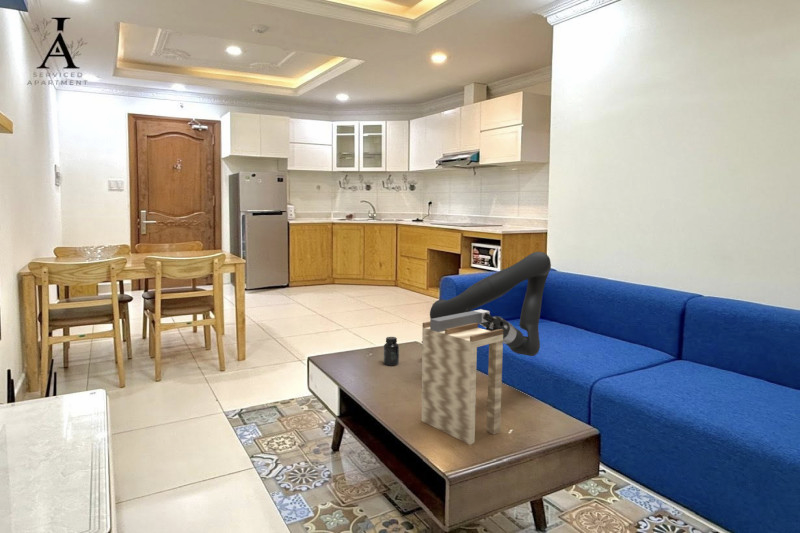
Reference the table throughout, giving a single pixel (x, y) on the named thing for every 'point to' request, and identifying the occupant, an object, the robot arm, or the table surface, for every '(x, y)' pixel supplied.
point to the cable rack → (459, 379)
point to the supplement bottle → (391, 352)
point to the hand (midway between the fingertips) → (475, 313)
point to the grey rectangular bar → (457, 320)
